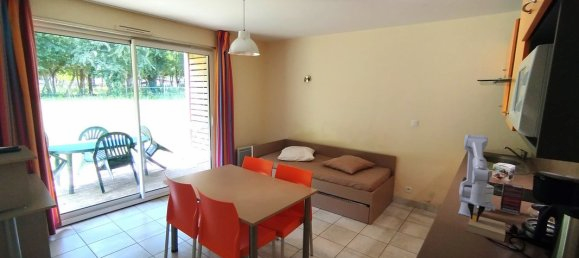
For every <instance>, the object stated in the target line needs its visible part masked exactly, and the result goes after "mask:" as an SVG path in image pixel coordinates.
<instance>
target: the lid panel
mask: <svg viewBox="0 0 579 258" xmlns="http://www.w3.org/2000/svg"><path fill="white" fill-rule="evenodd" d="M477 215H478V212H477V213H473V218H472V219H471V216H470V217H469V220H468V223H467V226H468V225H469V226H473V227H476V228H479V229H483V230H486V231H490V232H493V233H497V234H500V235H504V236H505V237H506V222H503V221H499V220H495V219H491V218H488V217H483V216H480V217H479V219H478V221H477V220H476V219H477Z"/></svg>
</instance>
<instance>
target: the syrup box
mask: <svg viewBox="0 0 579 258" xmlns="http://www.w3.org/2000/svg"><path fill="white" fill-rule="evenodd" d="M494 191H495V186H493V185H490V184H489V183H487V188H486V195H485V201H484V202H486V203H489V204H492V205H493V198H494ZM478 208H479V206H477V208H476V209H478ZM491 210H492V209H489V208H485V210H484V211H483V212H491Z"/></svg>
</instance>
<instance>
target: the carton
mask: <svg viewBox="0 0 579 258" xmlns="http://www.w3.org/2000/svg"><path fill="white" fill-rule="evenodd" d="M466 232H468V233H472V234H474V235H475V234H476V235H479V236H483V237H484V238H485V237H486V238H489V239H491V240H496V241H499V242H502V243H504V242H505V238H506V235H505V236H504V235H500V234H497V233H493V232H490V231H486V230H483V229H479V228H476V227H473V226H469V225H468V224H467V228H466Z"/></svg>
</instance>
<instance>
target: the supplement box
mask: <svg viewBox="0 0 579 258" xmlns="http://www.w3.org/2000/svg"><path fill="white" fill-rule="evenodd" d="M523 194H524V187H523V185H520V184H519V185H518V184H515V183H514V184H513V183H508V182H503V184H502V192H501V198H500V206H499V210H500V212H502V213H503V212H504V213H508V214H513V215H517V216H520V212H521V209H522V208H521V206H522V201H523V200H522V199H523Z"/></svg>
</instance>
